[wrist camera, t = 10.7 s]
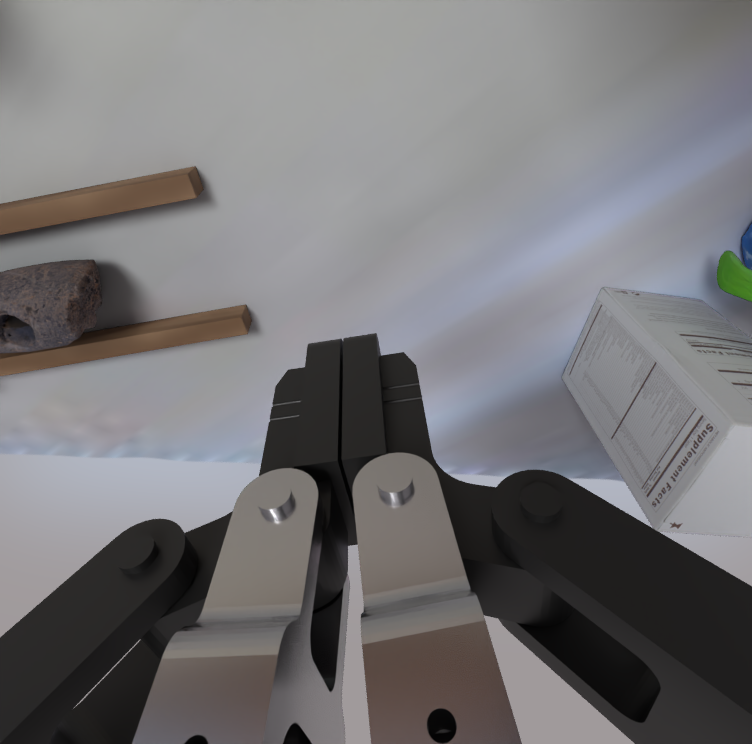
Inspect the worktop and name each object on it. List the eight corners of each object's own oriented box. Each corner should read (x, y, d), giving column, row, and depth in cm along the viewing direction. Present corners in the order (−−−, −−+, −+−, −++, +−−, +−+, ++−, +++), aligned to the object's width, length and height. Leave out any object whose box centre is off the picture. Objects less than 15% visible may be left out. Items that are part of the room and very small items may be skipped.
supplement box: (651, 388, 46) (780, 545, 32) (558, 379, 45) (650, 537, 31) (706, 296, 40) (888, 438, 27) (601, 283, 39) (737, 424, 26)
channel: (-152, 233, 34) (-197, 252, 31) (195, 166, 33) (181, 180, 30) (-39, 370, 41) (-67, 397, 38) (251, 320, 40) (244, 344, 37)
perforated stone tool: (-44, 332, 39) (-110, 385, 34) (-90, 272, 36) (-170, 318, 31) (139, 306, 39) (103, 355, 33) (108, 242, 36) (64, 284, 30)
